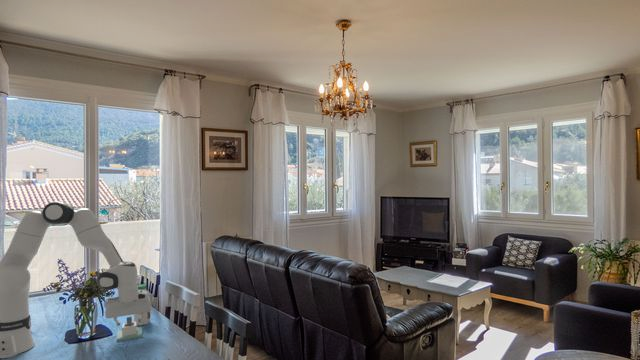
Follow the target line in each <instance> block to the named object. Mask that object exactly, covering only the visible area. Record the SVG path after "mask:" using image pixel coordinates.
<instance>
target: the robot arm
mask: <svg viewBox="0 0 640 360" xmlns="http://www.w3.org/2000/svg"><path fill="white" fill-rule="evenodd" d="M68 225H70V227H71V228H72V229H73V231H74V233H75V236H76V237H77V238H76V239H77V240H78V242H79V244H81V246H82V247H83V248H85V249H90V250H94V251H98V252H100V254H102V256H103V257H104V259H105V260H106V262H107V263H108V265H109V268H108V269H105V270H104V271H102V272H100V273H99V274H98V275H97V279H96V284H97V286H98V287H99V289H100V290H103V291H110V290H114V289H117V297H116V296H115V297H109V298H107V299H105V300H104V302H103V305H104V308H105V311H104V312H105V313H104V314H105V318H106V319H113V321H114V323H116V327H119V326H121V321H118V318H119V317H125V316H126V317H128V316H131V315H132V316H134V314H140V313H141V317H140V318H138V323H139V322H142V321H141V319H142V317H143V315H144V313H146V312H150V313H151V311H152V303H151V299H150V297H149V292H148V291H147V290H146V291H144V290H138V277H139V276H138V275H139V274H138V268H137V265H136V263H134V262H132V261H124V260H123V259H122V257H121V255H120V254H119V252H118V250H117V248H116V247H115V245H114V243H113V242H112V241H111V239H110V238H109V237H108V236H107V235H106V233H105V231H104V229H103V228H102V226H101V223H100V222H99V220H98V218H97V216H96V215H95V214H94V212H93V210H92V209H90V208H79V209H74V207H73V206H72V205H70V204H68V203H66V202H62V201H56V200H55V201H52V202H51V201H50V202H49V203H48V204H45V206H44V207H43V208H42V211H40V210H31V211H28V212H27V213H26V214H25V215H24V216H23V218H22V219H21V220H20V223H19V224H18V226H17V228H16V230H15V232H14V235H13V236H12V239H11V241H10V244H9V246H8V248H7V250H6V252H5V254H4V255H3V256H2V258H1V261H0V358H1V359H7V358H8V359H9V358H13V357H15V356H16V355H19V354H21V353H23V352H26V351H28V350H30V349H33V348H34V346H36V345H35V341H34V339H33V335H32V330H31V327H32V318H31V315H30V304H29V303H30V302H29V296H30V288H31V272H30V271H29V269H28V268H29V266H30V264H32V263H31V262H32V261H33V259H34V258H35V257H36V255H37V254H38V252H39V249H40V246H41V244H42V242H43V240H44V237H45V234H46V232H47V230H48V228H50V227H52V226H54V227H55V226H68Z"/></svg>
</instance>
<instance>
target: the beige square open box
mask: <svg viewBox="0 0 640 360" xmlns="http://www.w3.org/2000/svg"><path fill="white" fill-rule="evenodd" d="M121 330H122V336H127V335H132V334H137V325H136V321H135V322H134V321H132V326H127V322H126V323H125V322H124V323H122V324H121Z"/></svg>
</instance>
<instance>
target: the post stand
mask: <svg viewBox="0 0 640 360" xmlns="http://www.w3.org/2000/svg"><path fill="white" fill-rule="evenodd" d="M132 322H133V318H132V316H126V323H127V326H132ZM136 328H137V334H132V335H127V336H122V329H119V330H116V331H117V332H116V342H123V341H128V340H134V339H139V338H140V339H141V338H143V328H142V326H136Z"/></svg>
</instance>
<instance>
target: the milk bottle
mask: <svg viewBox="0 0 640 360" xmlns="http://www.w3.org/2000/svg"><path fill="white" fill-rule="evenodd" d="M137 286H138V290H144V291H147V285H146V284H137ZM140 317H141V313H140V314H133V318H134V320H133V322H135V321H136V327H142V326H145V325H148V324H150V323H151V311H150V312H146V313H144V315H143V317H142V319H141V321H142V322H139V323H138V318H140Z"/></svg>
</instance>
